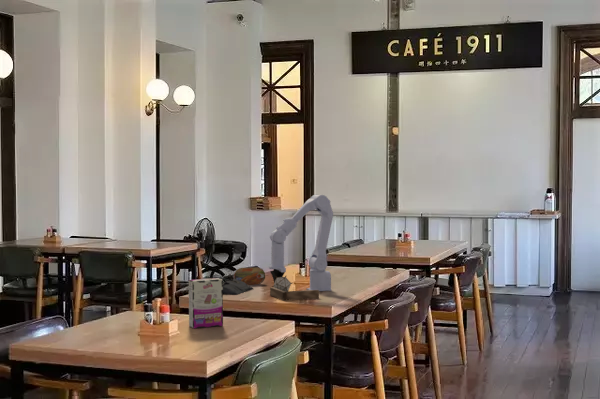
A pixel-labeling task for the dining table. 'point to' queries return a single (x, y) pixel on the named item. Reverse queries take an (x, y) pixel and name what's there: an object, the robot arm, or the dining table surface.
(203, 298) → the candy bar box
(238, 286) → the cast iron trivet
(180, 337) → the dining table surface
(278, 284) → the game die
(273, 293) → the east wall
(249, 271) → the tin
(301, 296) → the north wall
